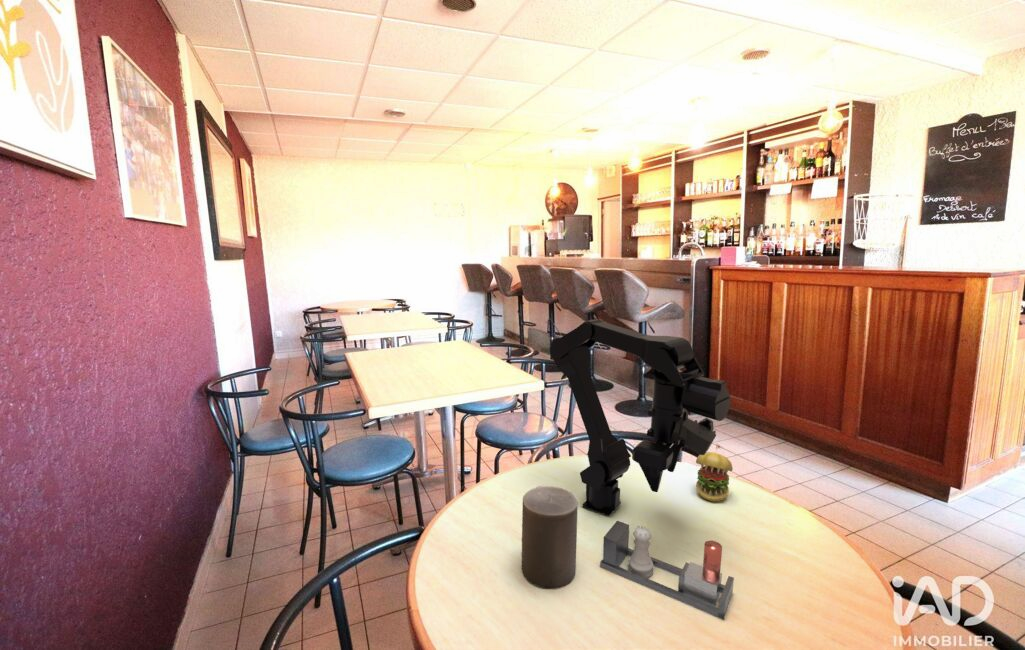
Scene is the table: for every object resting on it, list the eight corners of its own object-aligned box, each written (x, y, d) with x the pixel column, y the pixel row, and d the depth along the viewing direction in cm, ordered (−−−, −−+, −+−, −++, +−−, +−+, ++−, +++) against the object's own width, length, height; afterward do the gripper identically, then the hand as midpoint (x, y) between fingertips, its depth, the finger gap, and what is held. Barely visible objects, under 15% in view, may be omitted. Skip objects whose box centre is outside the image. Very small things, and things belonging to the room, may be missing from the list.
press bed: (600, 567, 85) (600, 537, 83) (614, 547, 90) (615, 519, 89) (723, 619, 73) (726, 585, 72) (732, 593, 78) (735, 561, 77)
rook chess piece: (624, 562, 86) (625, 523, 84) (648, 561, 86) (650, 521, 84) (632, 580, 81) (634, 538, 80) (657, 578, 82) (659, 537, 80)
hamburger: (690, 498, 106) (694, 448, 104) (697, 484, 112) (700, 437, 110) (727, 508, 102) (731, 457, 100) (732, 493, 108) (736, 444, 106)
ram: (677, 593, 78) (681, 541, 76) (684, 579, 81) (688, 529, 79) (714, 609, 75) (719, 555, 73) (720, 593, 78) (724, 541, 76)
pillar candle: (539, 597, 78) (540, 514, 75) (512, 561, 86) (512, 486, 83) (587, 578, 82) (590, 499, 79) (556, 545, 91) (558, 474, 88)
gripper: (698, 432, 76) (691, 519, 79) (725, 399, 91) (718, 473, 94) (633, 416, 82) (628, 497, 85) (668, 388, 97) (663, 458, 100)
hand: (662, 481), depth 91 cm, fingers open, 9 cm apart
